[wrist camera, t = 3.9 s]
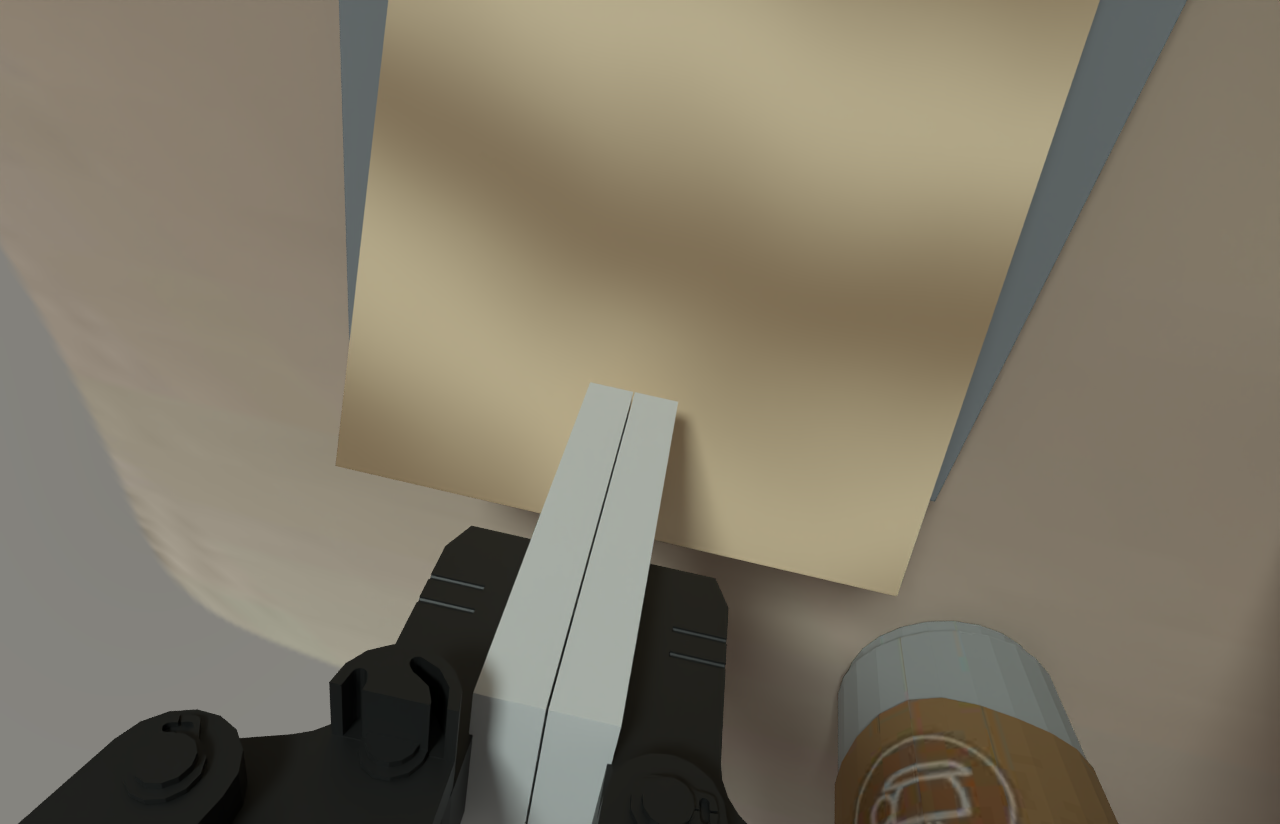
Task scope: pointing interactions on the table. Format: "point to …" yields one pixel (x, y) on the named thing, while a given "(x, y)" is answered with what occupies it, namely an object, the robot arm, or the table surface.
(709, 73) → the plank
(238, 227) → the table surface
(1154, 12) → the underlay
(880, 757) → the coffee cup
